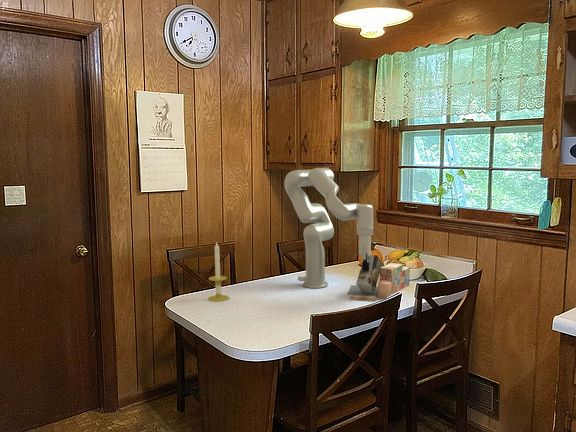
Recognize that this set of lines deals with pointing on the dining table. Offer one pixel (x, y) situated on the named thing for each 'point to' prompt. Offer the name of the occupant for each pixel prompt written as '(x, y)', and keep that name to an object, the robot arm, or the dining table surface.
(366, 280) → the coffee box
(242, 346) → the dining table surface
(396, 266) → the stack of blocks
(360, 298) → the stop strip
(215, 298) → the candle
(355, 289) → the mat
